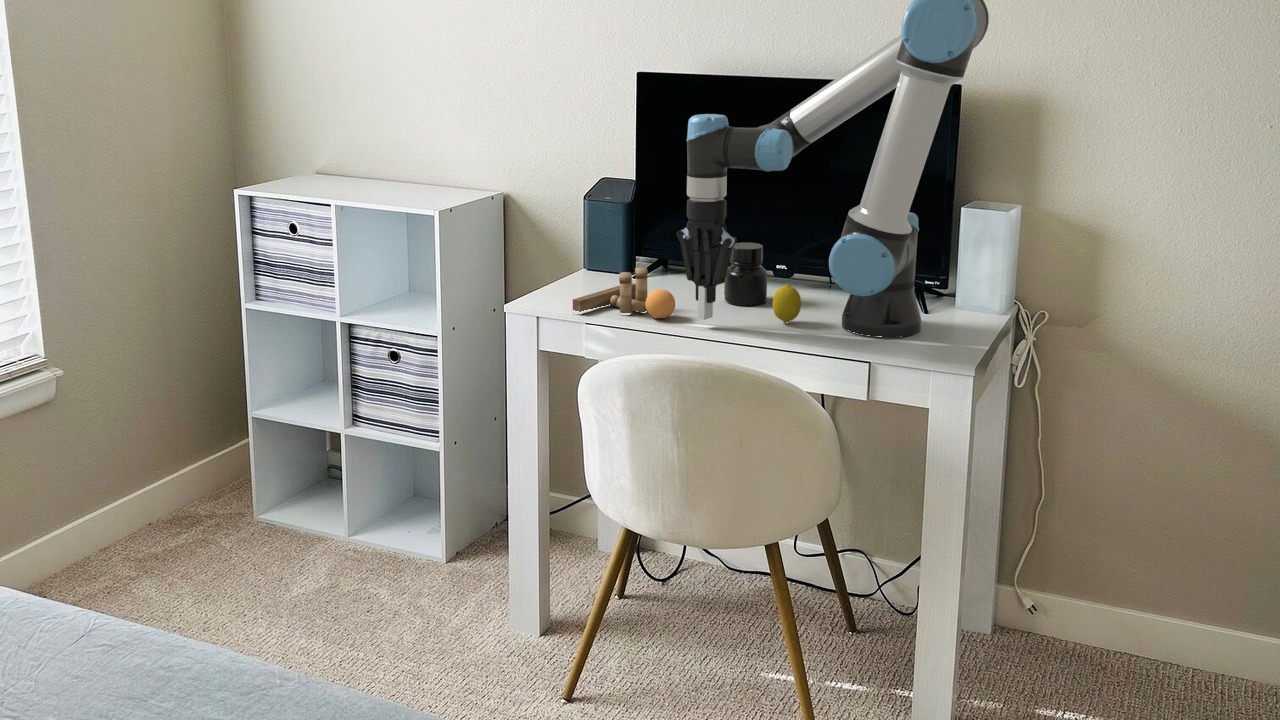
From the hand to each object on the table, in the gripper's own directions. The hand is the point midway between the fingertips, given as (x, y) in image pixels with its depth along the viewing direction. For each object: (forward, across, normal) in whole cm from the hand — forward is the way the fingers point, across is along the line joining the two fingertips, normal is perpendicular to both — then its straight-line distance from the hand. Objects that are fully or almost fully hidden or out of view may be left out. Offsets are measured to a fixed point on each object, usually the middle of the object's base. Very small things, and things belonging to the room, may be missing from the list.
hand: (705, 317), depth 228 cm
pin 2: (+2, +18, -2) cm, 19 cm away
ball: (-1, +11, +1) cm, 11 cm away
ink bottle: (+2, +5, -21) cm, 22 cm away
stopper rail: (+2, +26, 0) cm, 26 cm away
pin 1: (+2, +18, +2) cm, 19 cm away
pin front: (+1, +15, 0) cm, 15 cm away
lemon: (+2, -11, -12) cm, 16 cm away
